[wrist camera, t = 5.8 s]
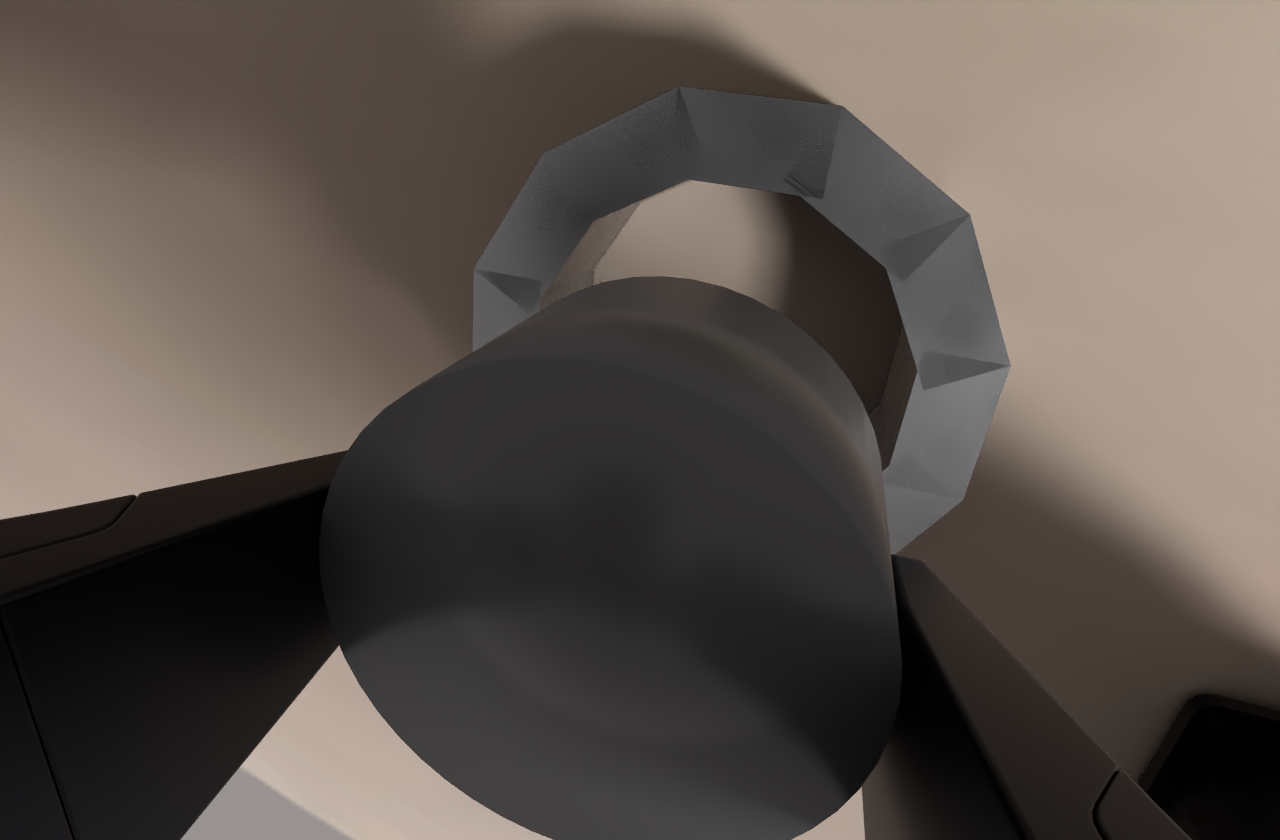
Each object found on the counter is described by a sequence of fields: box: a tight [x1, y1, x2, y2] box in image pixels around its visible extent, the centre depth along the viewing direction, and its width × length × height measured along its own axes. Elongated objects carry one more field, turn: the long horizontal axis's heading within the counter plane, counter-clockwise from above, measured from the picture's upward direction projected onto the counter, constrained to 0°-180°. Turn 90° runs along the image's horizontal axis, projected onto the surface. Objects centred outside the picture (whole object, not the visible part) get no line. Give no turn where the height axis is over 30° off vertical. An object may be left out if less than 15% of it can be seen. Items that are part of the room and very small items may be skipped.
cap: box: [319, 276, 902, 840], centre depth 9 cm, size 6×6×4 cm
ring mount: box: [472, 86, 1010, 554], centre depth 16 cm, size 10×10×4 cm
